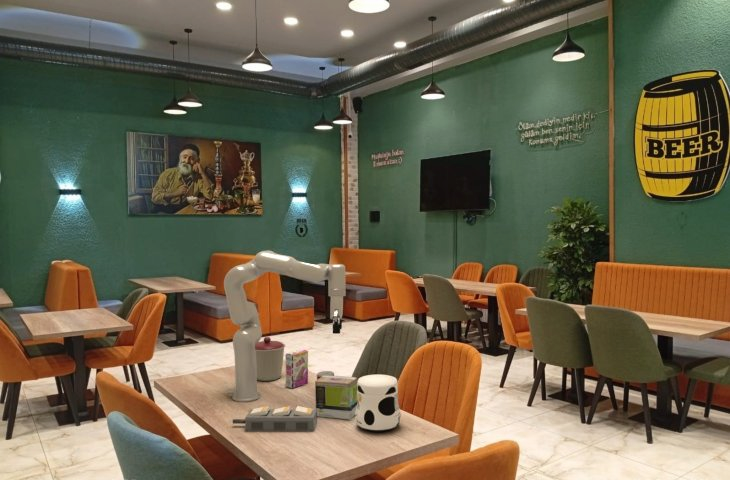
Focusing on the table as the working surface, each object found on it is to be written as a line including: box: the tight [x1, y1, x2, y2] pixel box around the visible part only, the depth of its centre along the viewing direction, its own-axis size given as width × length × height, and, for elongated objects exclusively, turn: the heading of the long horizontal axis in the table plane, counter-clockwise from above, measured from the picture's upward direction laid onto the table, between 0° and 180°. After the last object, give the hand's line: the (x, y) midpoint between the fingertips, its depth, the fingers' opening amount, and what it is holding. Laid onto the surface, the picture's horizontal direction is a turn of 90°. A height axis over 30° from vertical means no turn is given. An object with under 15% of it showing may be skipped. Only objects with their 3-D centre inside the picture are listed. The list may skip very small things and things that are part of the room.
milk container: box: [354, 374, 401, 432], centre depth 206 cm, size 17×17×18 cm
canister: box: [255, 336, 286, 382], centre depth 272 cm, size 18×18×21 cm
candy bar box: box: [285, 349, 309, 390], centre depth 260 cm, size 11×5×16 cm, turn 144°
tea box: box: [314, 375, 358, 421], centre depth 220 cm, size 15×10×15 cm
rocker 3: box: [295, 405, 314, 416], centre depth 207 cm, size 6×5×2 cm
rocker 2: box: [272, 405, 292, 416], centre depth 207 cm, size 6×5×2 cm
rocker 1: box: [250, 405, 270, 416], centre depth 208 cm, size 6×5×2 cm
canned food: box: [316, 370, 335, 380], centre depth 241 cm, size 8×8×11 cm
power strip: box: [232, 408, 318, 432], centre depth 207 cm, size 32×9×5 cm, turn 87°
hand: (337, 331), depth 237 cm, fingers open, 9 cm apart
